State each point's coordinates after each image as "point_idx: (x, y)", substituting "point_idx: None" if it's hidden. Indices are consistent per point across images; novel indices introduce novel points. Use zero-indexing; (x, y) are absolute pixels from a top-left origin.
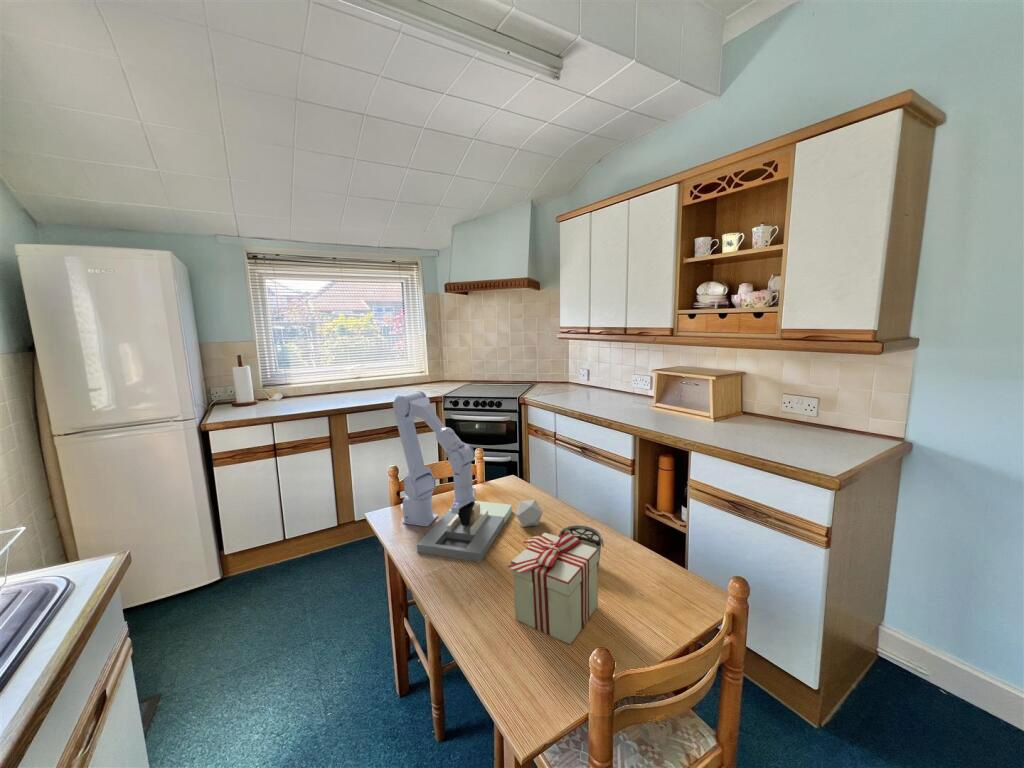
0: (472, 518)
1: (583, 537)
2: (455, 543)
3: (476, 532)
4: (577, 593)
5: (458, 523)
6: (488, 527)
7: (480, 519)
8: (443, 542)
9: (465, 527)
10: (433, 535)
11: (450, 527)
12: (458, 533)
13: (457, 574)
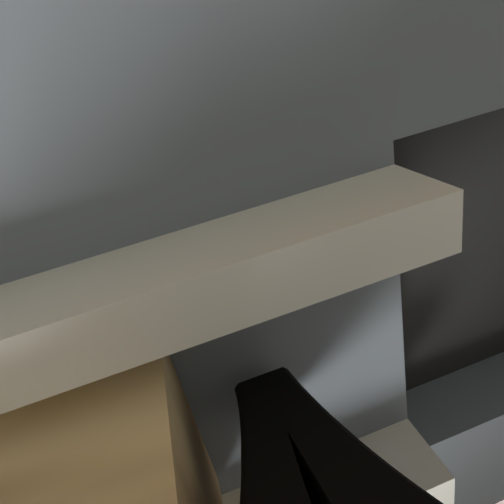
0: (180, 431)
1: None
2: (428, 285)
3: (328, 173)
4: None
5: (232, 483)
6: (91, 83)
7: (106, 310)
8: (439, 368)
9: None
10: (493, 465)
11: (437, 458)
12: (398, 345)
13: None
